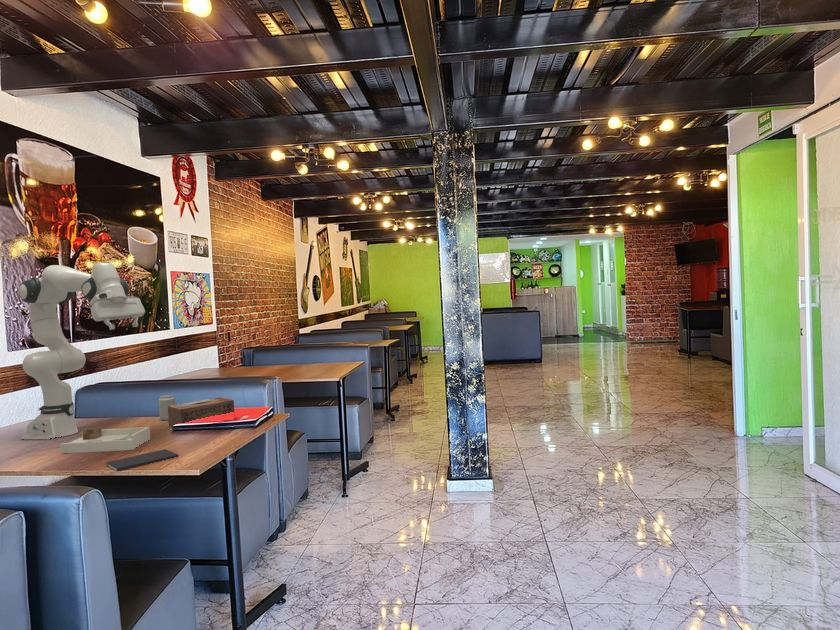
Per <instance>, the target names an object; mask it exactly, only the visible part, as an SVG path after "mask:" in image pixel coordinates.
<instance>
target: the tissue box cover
mask: <svg viewBox="0 0 840 630" xmlns="http://www.w3.org/2000/svg"><path fill="white" fill-rule="evenodd" d="M234 401H235V400H234V399H232V398H231V399H230V398H227V397H213V398H207V399H203V400H202V399H201V400H196V401H189V402H186V403H185V402H184V403H178V404H175V405H171V406H168V418H169V420H168V427H170V428H172V426H173V425H175V424H178V423H185V422H189V421H192V420H196V419H201V418H205V417H210V416H215V415H221V414H226V413H230V412H234V413H235V402H234Z"/></svg>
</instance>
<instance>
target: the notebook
mask: <svg viewBox="0 0 840 630" xmlns="http://www.w3.org/2000/svg"><path fill="white" fill-rule="evenodd" d="M177 456H178V457H179V453H175V452H173V451H170V450H168V449H158V450H155V451H150V452H146V453H142V454H141V453H140V454H137V455H133V456H127V457H124V458H119V459H116V460H110V461H109V460H108V461H106V462H105V464H106V466H107V467H108V468H111V469H112V470H114V471H116V472H122V471H126V470H130V469H134V468H138V467H142V466H147V465H151V464H150V463H152V464H155V463H154V462H156V463H160V462H163V461H162V460H164V461H167V460H166V459H169V460H171V459H170V458H173V459H175V458H174V457H177ZM178 457H177V458H178ZM159 461H160V462H159Z"/></svg>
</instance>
